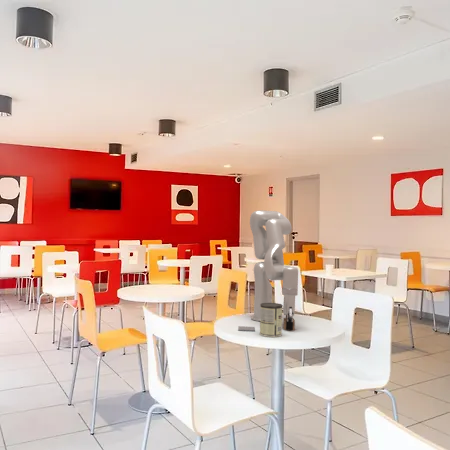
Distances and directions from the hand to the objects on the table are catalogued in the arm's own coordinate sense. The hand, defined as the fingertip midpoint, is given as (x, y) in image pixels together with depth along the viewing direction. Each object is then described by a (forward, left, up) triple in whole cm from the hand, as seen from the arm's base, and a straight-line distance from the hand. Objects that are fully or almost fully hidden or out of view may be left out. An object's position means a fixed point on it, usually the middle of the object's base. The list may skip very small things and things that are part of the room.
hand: (288, 328), depth 222 cm
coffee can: (+14, -10, -1) cm, 18 cm away
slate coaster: (+5, -21, 0) cm, 22 cm away
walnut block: (0, 0, -1) cm, 1 cm away
